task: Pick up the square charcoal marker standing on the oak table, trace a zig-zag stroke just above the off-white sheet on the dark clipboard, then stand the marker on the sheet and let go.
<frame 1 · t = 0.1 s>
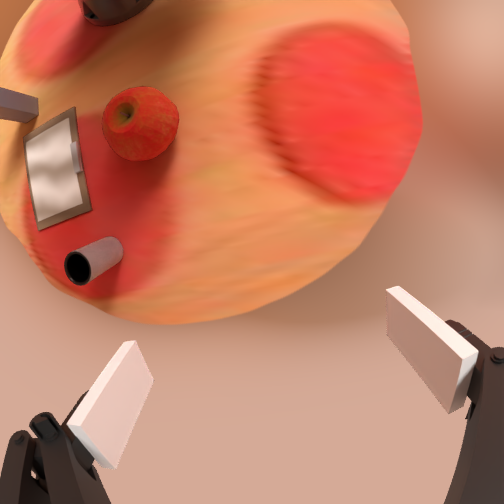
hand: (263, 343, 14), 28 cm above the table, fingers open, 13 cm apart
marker: (31, 110, 35), on the table
grey hollow cylinder: (111, 250, 41), on the table
apple: (150, 129, 37), on the table
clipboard: (53, 169, 38), on the table
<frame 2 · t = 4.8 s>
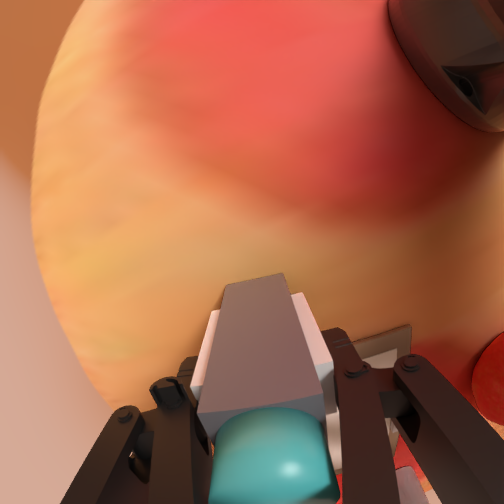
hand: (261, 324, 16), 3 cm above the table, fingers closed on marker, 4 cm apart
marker: (260, 305, 18), on the table, touching gripper
grey hollow cylinder: (396, 474, 24), on the table
apple: (494, 356, 20), on the table
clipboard: (336, 426, 21), on the table
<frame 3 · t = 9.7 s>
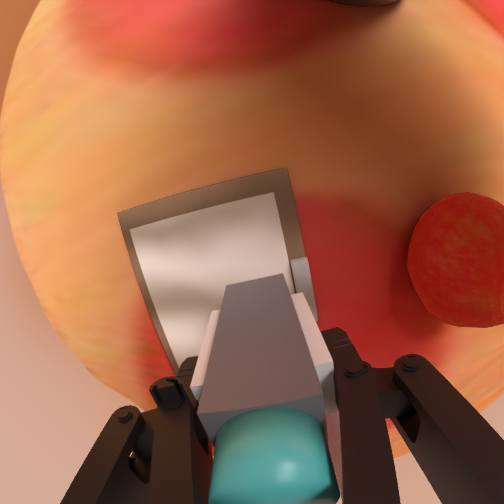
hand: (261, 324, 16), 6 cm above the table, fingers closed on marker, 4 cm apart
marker: (260, 305, 18), point 4 cm above the table, touching gripper
grey hollow cylinder: (342, 415, 26), on the table
apple: (440, 248, 21), on the table
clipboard: (228, 303, 22), on the table
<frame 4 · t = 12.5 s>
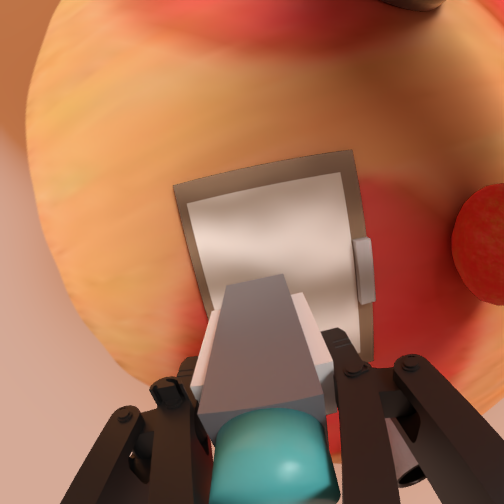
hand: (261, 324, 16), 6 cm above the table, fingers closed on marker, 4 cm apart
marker: (260, 305, 18), point 3 cm above the table, touching gripper
grey hollow cylinder: (382, 402, 25), on the table
apple: (475, 236, 21), on the table
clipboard: (287, 284, 21), on the table
when the fingers open (5 cm above the table, at t = 14.9 s): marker drops 2 cm, resting on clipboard.
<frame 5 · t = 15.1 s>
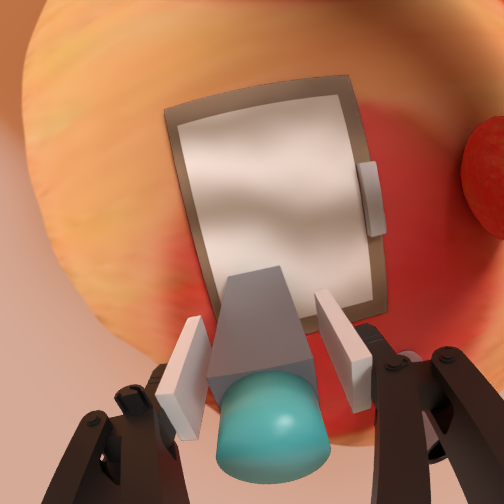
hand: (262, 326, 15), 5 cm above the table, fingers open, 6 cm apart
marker: (259, 295, 20), point 1 cm above the table, touching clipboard
grey hollow cylinder: (398, 368, 23), on the table
apple: (484, 177, 18), on the table
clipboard: (287, 213, 19), on the table
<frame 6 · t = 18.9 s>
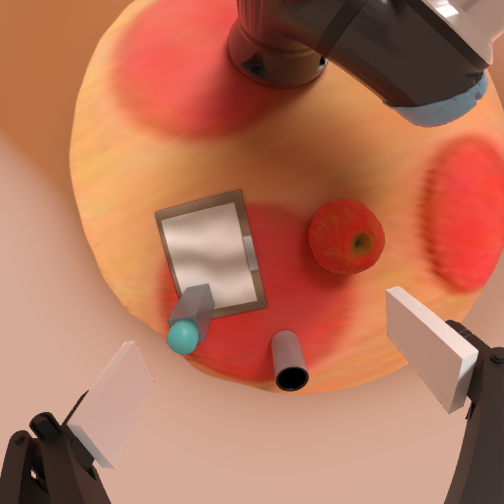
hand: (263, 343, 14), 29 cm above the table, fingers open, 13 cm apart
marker: (200, 296, 43), resting on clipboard
grey hollow cylinder: (284, 340, 46), on the table
apple: (336, 232, 42), on the table
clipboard: (211, 260, 42), on the table
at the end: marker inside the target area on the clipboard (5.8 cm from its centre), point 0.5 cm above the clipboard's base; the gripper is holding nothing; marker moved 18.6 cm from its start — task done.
